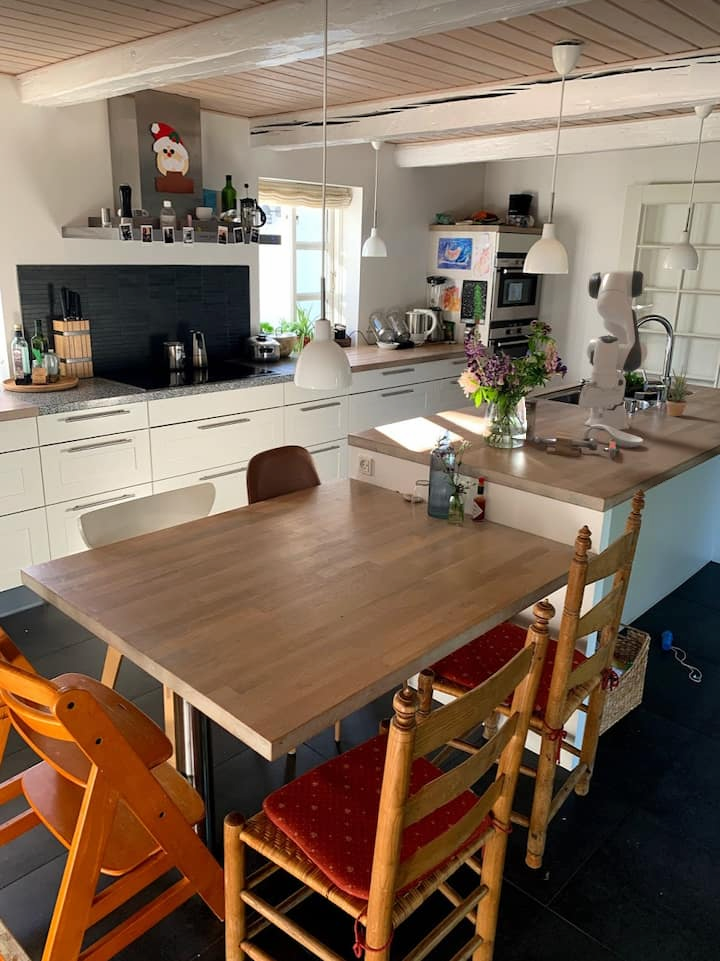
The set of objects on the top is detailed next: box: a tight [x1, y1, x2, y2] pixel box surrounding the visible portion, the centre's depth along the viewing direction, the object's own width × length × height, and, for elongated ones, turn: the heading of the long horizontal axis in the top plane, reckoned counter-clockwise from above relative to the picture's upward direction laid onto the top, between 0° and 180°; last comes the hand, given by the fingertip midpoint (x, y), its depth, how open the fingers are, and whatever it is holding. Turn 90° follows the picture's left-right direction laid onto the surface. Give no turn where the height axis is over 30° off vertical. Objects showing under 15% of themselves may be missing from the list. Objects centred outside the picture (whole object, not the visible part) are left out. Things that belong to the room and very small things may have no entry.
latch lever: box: [608, 440, 617, 458], centre depth 289 cm, size 14×2×3 cm, turn 164°
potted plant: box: [665, 365, 689, 417], centre depth 360 cm, size 10×10×25 cm
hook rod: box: [533, 436, 599, 451], centre depth 294 cm, size 3×24×4 cm, turn 74°
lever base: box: [602, 438, 620, 453], centre depth 296 cm, size 6×6×4 cm
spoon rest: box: [581, 424, 644, 449], centre depth 307 cm, size 24×12×7 cm, turn 56°
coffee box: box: [524, 398, 538, 442], centre depth 310 cm, size 9×6×16 cm
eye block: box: [546, 430, 581, 457], centre depth 294 cm, size 14×12×6 cm
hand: (598, 418), depth 282 cm, fingers closed
